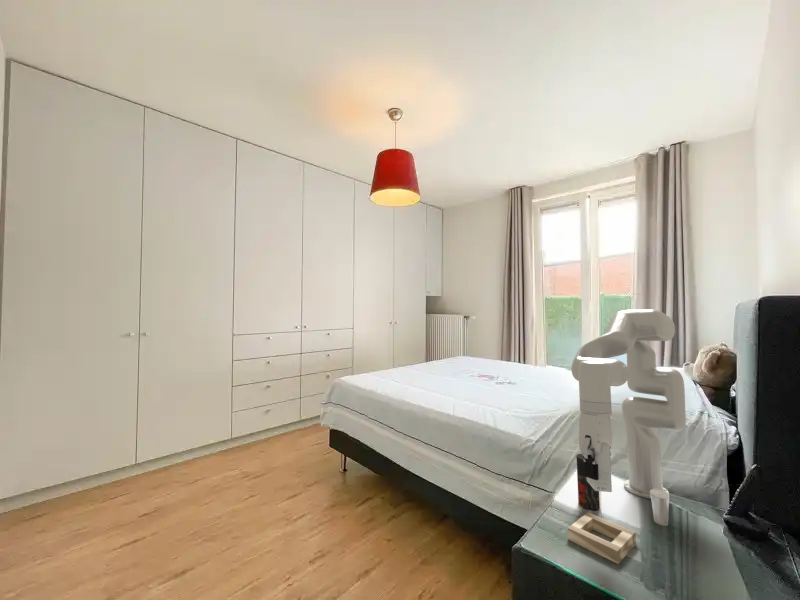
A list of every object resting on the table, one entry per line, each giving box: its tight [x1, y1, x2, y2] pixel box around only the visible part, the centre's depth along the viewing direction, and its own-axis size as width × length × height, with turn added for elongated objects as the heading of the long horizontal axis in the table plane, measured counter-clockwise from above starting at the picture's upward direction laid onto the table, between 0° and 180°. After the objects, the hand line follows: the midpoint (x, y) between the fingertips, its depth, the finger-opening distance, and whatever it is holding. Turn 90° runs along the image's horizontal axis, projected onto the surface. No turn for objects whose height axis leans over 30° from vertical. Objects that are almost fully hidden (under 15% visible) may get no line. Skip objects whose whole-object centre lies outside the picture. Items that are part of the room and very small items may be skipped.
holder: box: [567, 512, 637, 565], centre depth 90 cm, size 12×12×3 cm
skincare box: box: [587, 443, 613, 493], centre depth 91 cm, size 6×4×12 cm
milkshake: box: [650, 483, 670, 527], centre depth 99 cm, size 4×5×10 cm
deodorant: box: [576, 453, 601, 512], centre depth 108 cm, size 6×6×15 cm
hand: (598, 473), depth 91 cm, fingers closed on skincare box, 7 cm apart
